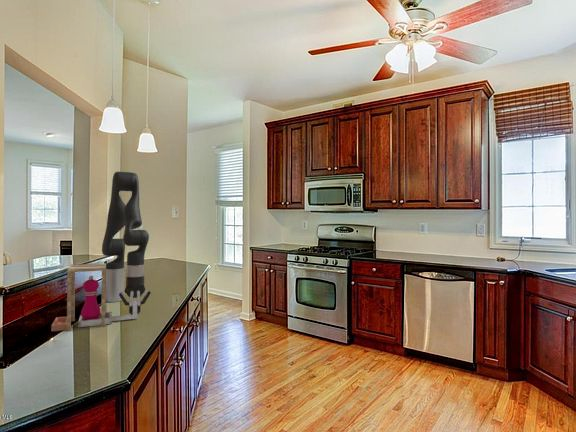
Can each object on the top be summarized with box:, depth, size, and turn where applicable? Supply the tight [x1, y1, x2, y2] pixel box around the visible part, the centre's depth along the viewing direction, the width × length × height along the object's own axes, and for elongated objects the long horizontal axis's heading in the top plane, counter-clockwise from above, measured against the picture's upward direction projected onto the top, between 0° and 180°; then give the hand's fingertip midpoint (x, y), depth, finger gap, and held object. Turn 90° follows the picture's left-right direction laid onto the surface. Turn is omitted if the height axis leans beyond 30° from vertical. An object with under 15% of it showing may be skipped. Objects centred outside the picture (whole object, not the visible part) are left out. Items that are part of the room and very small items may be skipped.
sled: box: [77, 298, 138, 328], centre depth 154 cm, size 11×22×8 cm, turn 116°
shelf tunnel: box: [66, 262, 107, 332], centre depth 150 cm, size 15×13×24 cm
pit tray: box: [50, 316, 67, 332], centre depth 146 cm, size 12×5×2 cm, turn 26°
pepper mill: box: [80, 275, 101, 320], centre depth 151 cm, size 7×7×20 cm
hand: (134, 313), depth 158 cm, fingers closed on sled, 2 cm apart
